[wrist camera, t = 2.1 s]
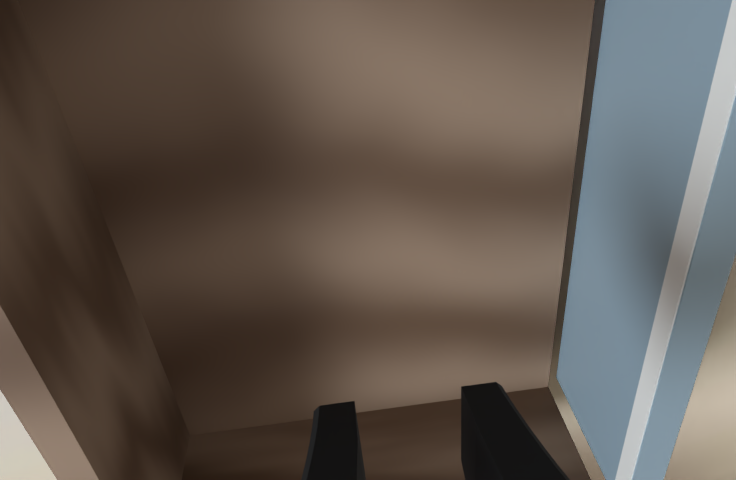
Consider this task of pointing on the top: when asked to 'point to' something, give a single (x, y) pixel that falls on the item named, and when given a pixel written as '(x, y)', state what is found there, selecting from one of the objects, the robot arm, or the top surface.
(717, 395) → the top surface
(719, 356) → the top surface
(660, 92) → the tailgate
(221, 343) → the cart bed
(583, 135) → the top surface
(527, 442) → the robot arm
